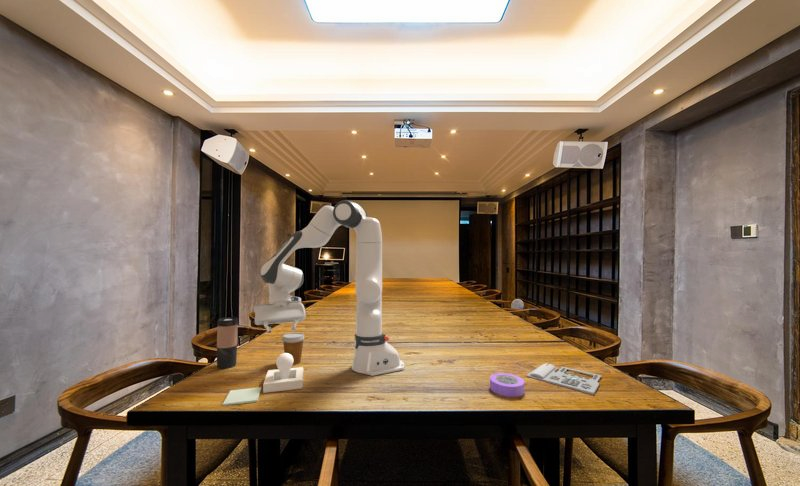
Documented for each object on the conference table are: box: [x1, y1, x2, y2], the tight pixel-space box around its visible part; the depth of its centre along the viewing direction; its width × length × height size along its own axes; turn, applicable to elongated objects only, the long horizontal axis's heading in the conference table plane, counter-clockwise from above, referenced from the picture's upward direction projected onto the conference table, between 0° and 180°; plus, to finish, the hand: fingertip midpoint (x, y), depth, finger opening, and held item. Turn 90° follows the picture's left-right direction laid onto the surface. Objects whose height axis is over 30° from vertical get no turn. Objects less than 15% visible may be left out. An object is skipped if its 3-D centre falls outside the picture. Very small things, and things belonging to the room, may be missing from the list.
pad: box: [222, 386, 263, 407], centre depth 104 cm, size 10×10×1 cm
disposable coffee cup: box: [281, 332, 306, 366], centre depth 137 cm, size 10×10×12 cm
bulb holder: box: [262, 366, 304, 394], centre depth 115 cm, size 13×13×3 cm
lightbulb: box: [275, 352, 294, 379], centre depth 115 cm, size 6×6×11 cm
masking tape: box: [489, 372, 525, 398], centre depth 111 cm, size 12×12×4 cm
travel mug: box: [216, 316, 239, 370], centre depth 132 cm, size 8×8×20 cm
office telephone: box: [526, 362, 603, 396], centre depth 122 cm, size 23×3×20 cm
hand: (281, 330), depth 127 cm, fingers open, 8 cm apart
